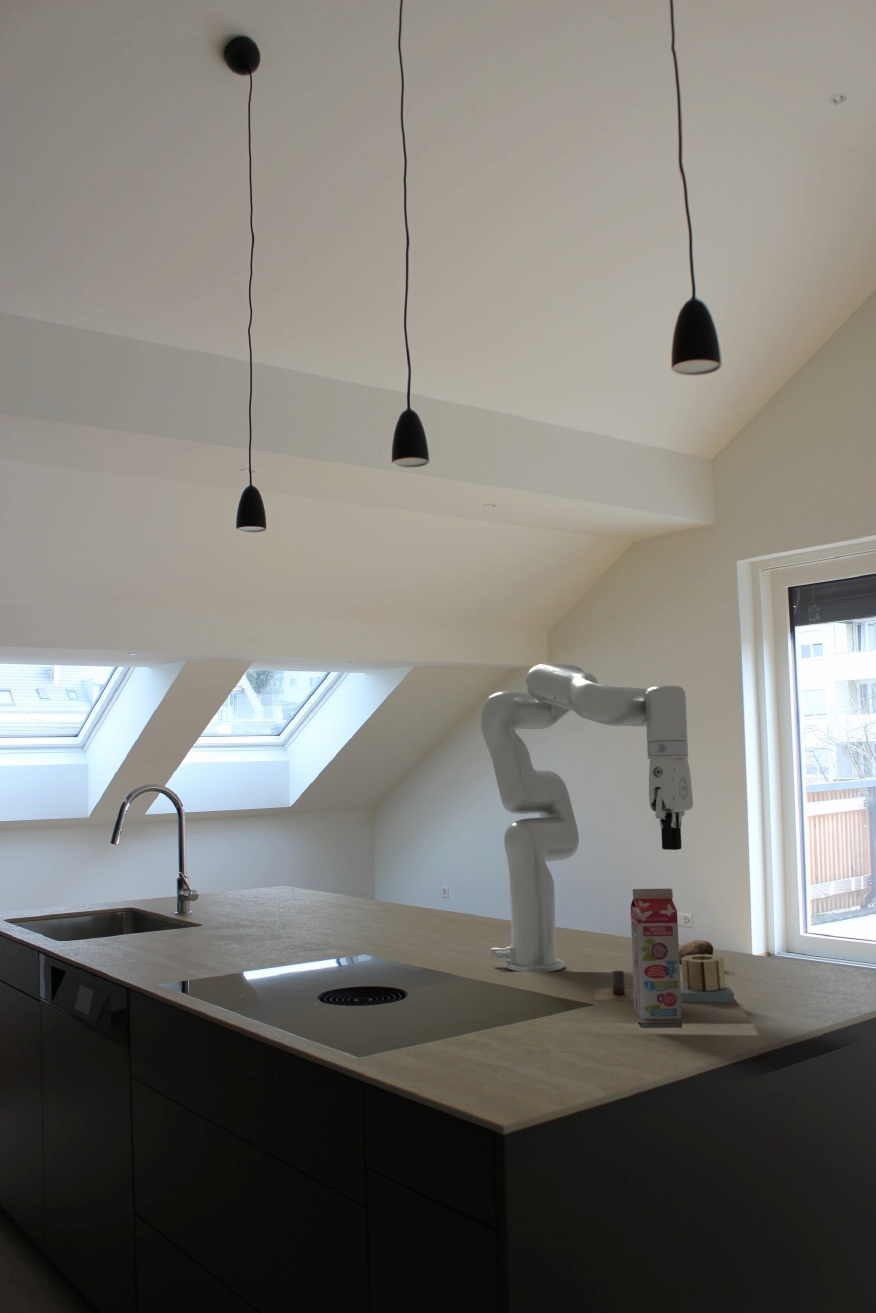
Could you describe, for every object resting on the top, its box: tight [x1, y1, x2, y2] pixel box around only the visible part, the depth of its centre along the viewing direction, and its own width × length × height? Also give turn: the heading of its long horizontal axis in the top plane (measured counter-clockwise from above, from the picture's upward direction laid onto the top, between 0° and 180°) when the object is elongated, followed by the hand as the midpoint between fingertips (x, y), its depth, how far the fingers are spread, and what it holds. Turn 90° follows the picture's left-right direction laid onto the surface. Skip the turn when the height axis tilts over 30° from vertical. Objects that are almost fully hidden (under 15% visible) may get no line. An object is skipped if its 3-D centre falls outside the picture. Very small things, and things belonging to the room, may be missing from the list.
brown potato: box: [679, 939, 714, 967], centre depth 214 cm, size 8×8×6 cm
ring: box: [681, 954, 726, 991], centre depth 182 cm, size 7×7×5 cm
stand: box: [592, 970, 634, 1001], centre depth 184 cm, size 9×9×6 cm
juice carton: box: [630, 888, 683, 1029], centre depth 170 cm, size 7×7×22 cm
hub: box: [680, 981, 735, 1003], centre depth 181 cm, size 9×9×7 cm
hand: (671, 849), depth 189 cm, fingers closed
